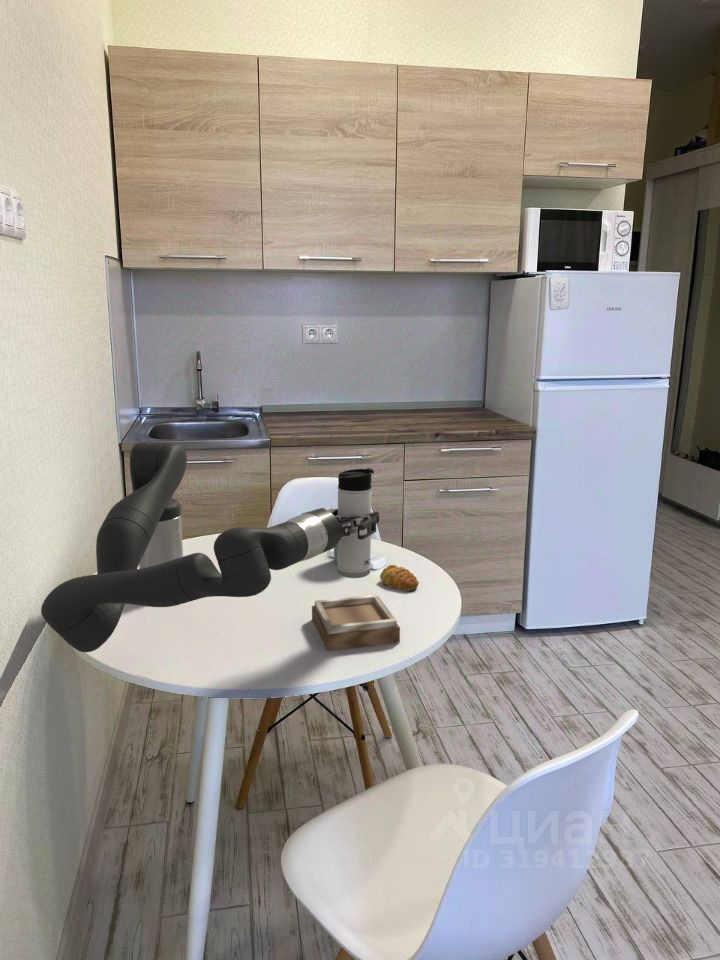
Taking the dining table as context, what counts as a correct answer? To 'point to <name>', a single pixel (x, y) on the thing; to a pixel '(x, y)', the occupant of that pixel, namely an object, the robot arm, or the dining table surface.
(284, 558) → the robot arm
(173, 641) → the dining table surface
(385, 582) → the pastry
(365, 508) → the travel mug
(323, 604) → the square wooden tray
